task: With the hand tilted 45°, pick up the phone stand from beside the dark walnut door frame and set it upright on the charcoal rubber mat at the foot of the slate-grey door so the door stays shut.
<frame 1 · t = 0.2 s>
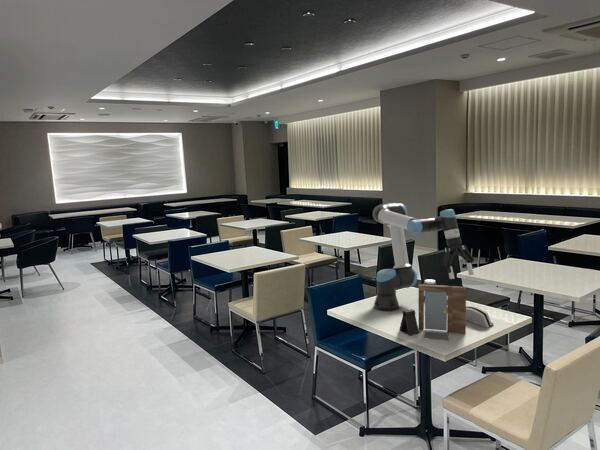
hand: (462, 277, 237), 28 cm above the table, tool tilted 20°, fingers open, 13 cm apart
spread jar: (430, 298, 293), on the table
door frame: (435, 330, 237), on the table
door: (435, 310, 234), point 11 cm above the table, hinge at 0.0°
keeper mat: (436, 336, 229), on the table
phone stand: (409, 332, 236), on the table
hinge: (476, 323, 247), on the table
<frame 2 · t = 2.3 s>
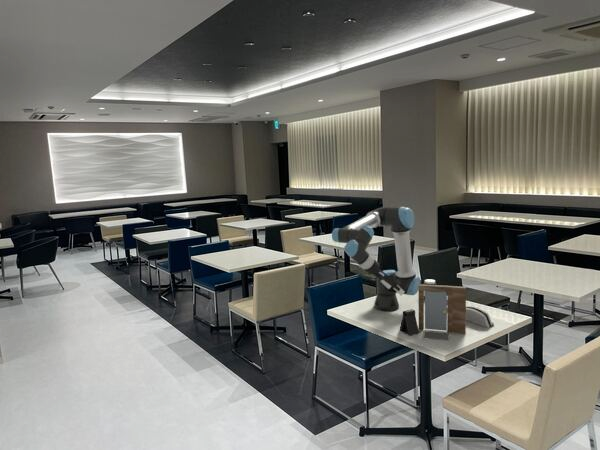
hand: (396, 290, 231), 24 cm above the table, tool tilted 45°, fingers open, 13 cm apart
nothing on the table moved.
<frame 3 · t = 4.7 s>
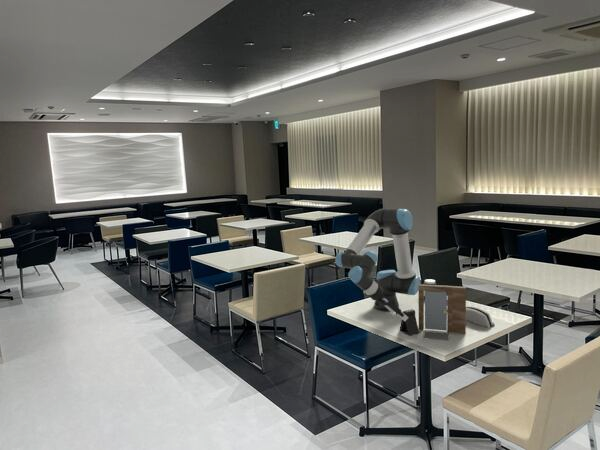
hand: (400, 315, 232), 10 cm above the table, tool tilted 45°, fingers open, 13 cm apart
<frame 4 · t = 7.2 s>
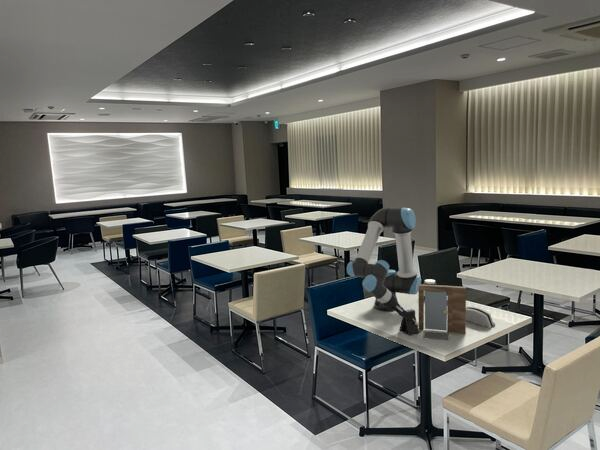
hand: (415, 325, 236), 3 cm above the table, tool tilted 45°, fingers closed on phone stand, 4 cm apart
phone stand: (409, 332, 236), on the table, touching gripper
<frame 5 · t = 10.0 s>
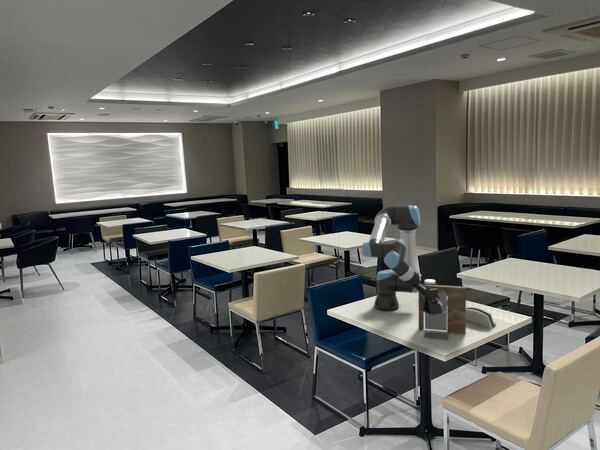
hand: (438, 304, 228), 16 cm above the table, tool tilted 45°, fingers closed on phone stand, 3 cm apart
phone stand: (431, 312, 228), point 13 cm above the table, touching gripper
when the fingers open (5 cm above the table, at t = 13.1 s): phone stand drops 1 cm, resting on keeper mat.
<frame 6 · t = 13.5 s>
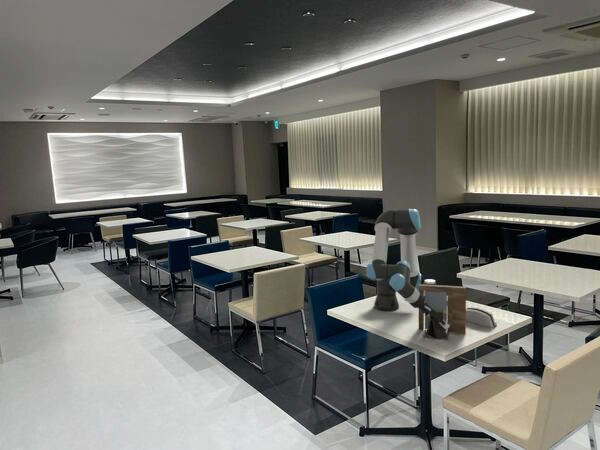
hand: (442, 324, 229), 6 cm above the table, tool tilted 45°, fingers open, 9 cm apart
door: (435, 310, 234), point 11 cm above the table, hinge at 0.0°, touching gripper
phone stand: (436, 335, 229), resting on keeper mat
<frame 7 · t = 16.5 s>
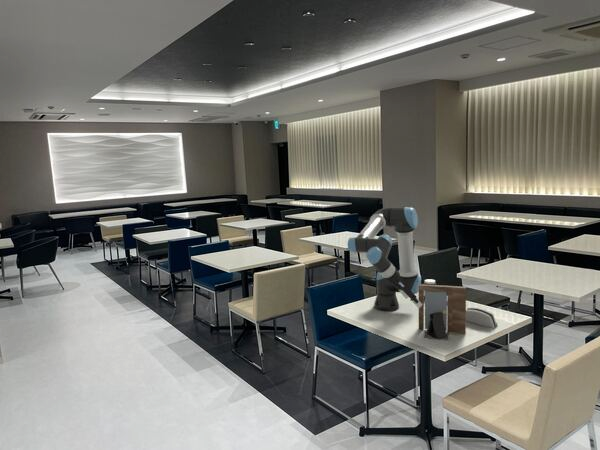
hand: (414, 301, 227), 19 cm above the table, tool tilted 40°, fingers open, 13 cm apart
door: (435, 310, 234), point 11 cm above the table, hinge at 0.0°
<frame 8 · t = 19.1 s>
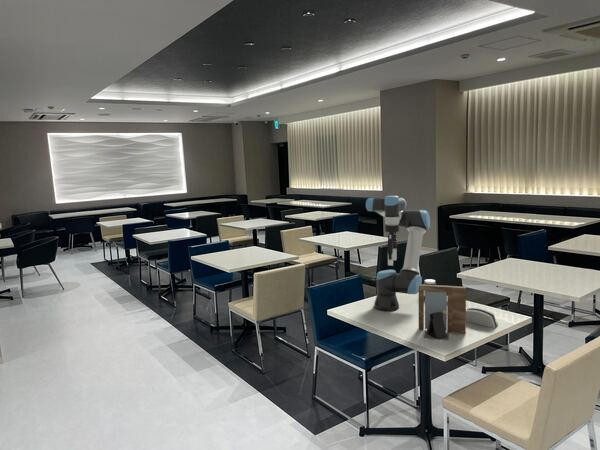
hand: (392, 262, 245), 35 cm above the table, tool pointing down, fingers open, 13 cm apart
at the end: phone stand inside the target area (0.0 cm from its centre), resting on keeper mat; phone stand tilted 0°; door at +0° (first picture: +0°) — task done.
